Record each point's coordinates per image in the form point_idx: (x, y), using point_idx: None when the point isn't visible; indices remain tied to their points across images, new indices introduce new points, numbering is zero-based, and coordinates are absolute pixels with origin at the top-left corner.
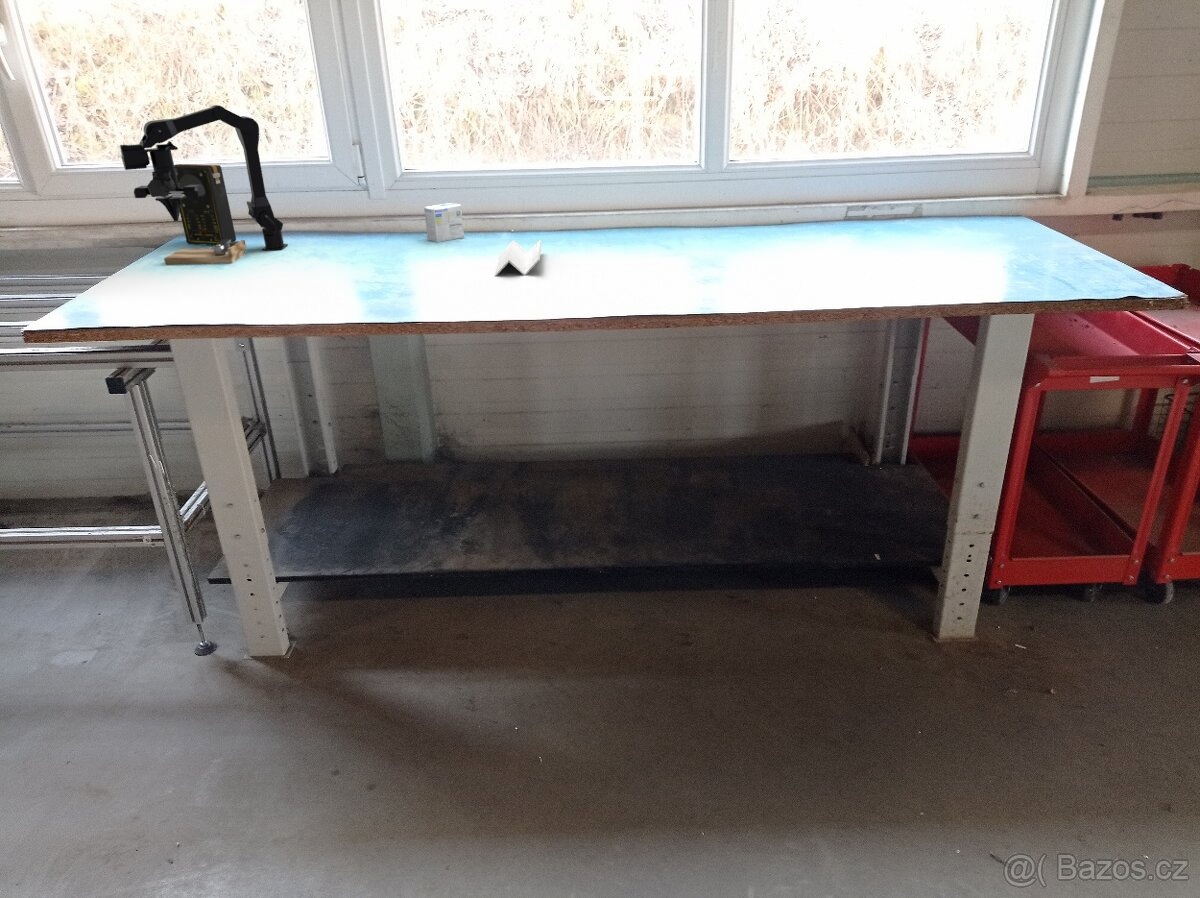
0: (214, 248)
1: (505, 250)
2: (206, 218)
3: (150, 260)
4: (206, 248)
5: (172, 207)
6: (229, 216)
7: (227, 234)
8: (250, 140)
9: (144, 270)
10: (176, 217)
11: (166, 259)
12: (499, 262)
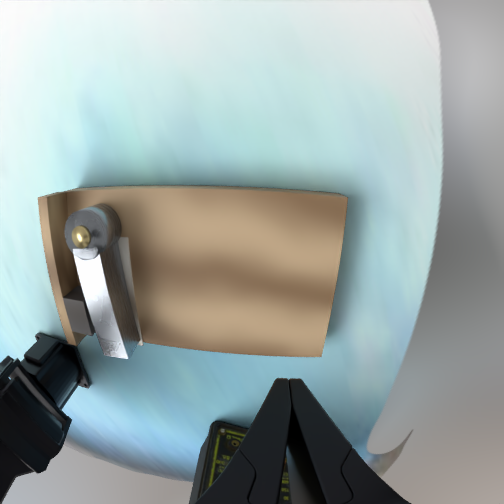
0: (94, 212)
1: None
2: None
3: (413, 283)
4: (215, 350)
5: (302, 492)
6: (191, 497)
7: (204, 452)
8: None
9: (393, 118)
10: (268, 395)
11: (336, 196)
12: None
